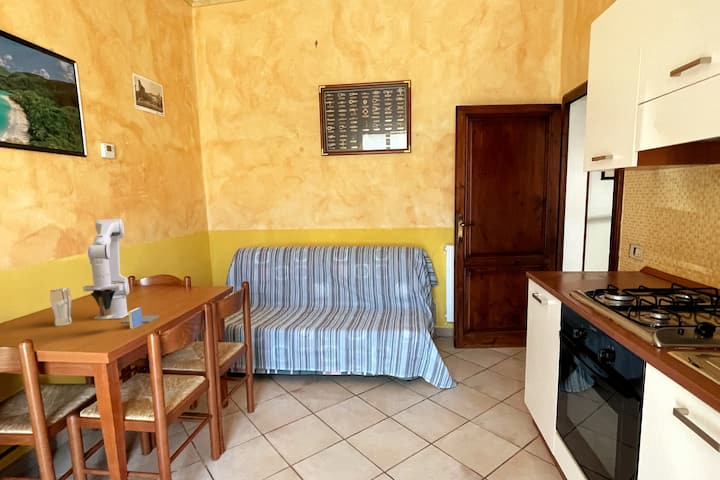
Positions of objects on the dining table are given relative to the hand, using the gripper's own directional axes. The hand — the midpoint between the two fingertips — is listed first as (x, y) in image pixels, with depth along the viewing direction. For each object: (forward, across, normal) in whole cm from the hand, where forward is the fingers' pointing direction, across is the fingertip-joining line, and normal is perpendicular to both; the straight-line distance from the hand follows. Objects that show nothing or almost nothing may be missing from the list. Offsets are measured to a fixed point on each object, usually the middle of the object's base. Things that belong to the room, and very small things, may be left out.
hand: (105, 308), depth 150 cm
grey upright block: (+3, 0, 0) cm, 3 cm away
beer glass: (+10, -27, +11) cm, 31 cm away
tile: (+10, +8, +6) cm, 14 cm away
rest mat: (+10, +5, +14) cm, 18 cm away
